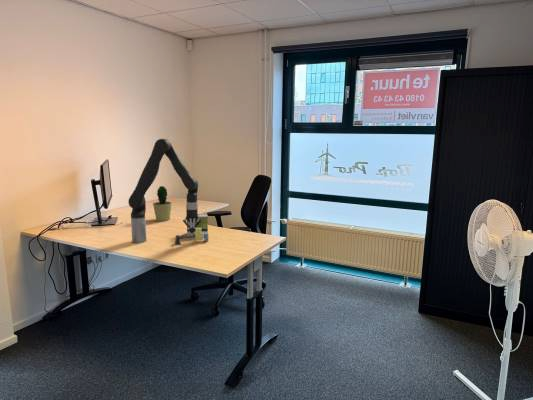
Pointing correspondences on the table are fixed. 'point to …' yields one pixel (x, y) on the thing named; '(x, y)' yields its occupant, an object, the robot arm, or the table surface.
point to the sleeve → (198, 234)
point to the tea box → (200, 224)
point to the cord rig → (205, 237)
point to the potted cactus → (162, 205)
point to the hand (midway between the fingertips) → (192, 232)
